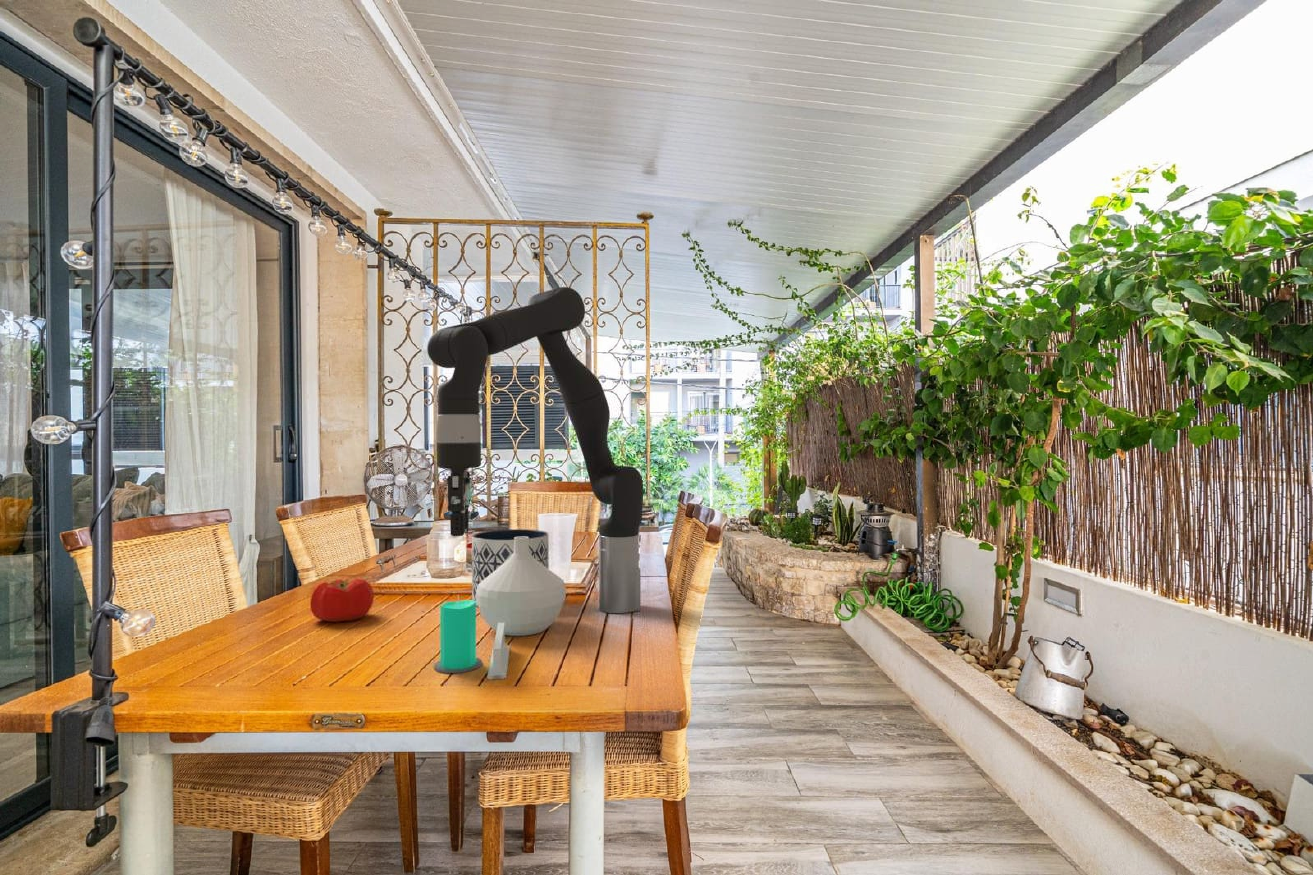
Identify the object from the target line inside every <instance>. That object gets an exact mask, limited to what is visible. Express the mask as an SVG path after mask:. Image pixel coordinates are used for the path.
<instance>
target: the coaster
mask: <svg viewBox="0 0 1313 875" xmlns="http://www.w3.org/2000/svg"><path fill="white" fill-rule="evenodd" d="M482 663H483V660H482V659H481V658H480V657H477V656H476V663H475V665H473V666H471V667H468V668H464V669H453V670H451V669H444V668H442V667H441V659H440V660H438V661H436V662H435V663H434V664H433V670H434V671H435V670H436V671H435V672H437V671H438V673H440V672H442V673H441V674H447V673H453V674H464V673H468V672H471V671H475V670H477V669H479V668H480V667H481V666H483V664H482ZM453 674H452V675H453Z"/></svg>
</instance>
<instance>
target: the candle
mask: <svg viewBox="0 0 1313 875" xmlns="http://www.w3.org/2000/svg"><path fill="white" fill-rule="evenodd" d="M459 597H460V596H459V594H457V601H446V602H444V603H442V604H441V605H440V616H439V617H440V618H439V619H440V623H439V624H440V626H439V627H440V637H439V638H440V644H439V645H440V650H439V651H440V660H441V667H442V668H444V669H451V670H453V669H464V668H468V667H471V666H473V665H475V663H476V657H477V606H476V602H475V601H473V600H472V599H463V600H460V598H459Z"/></svg>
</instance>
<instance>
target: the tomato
mask: <svg viewBox="0 0 1313 875" xmlns="http://www.w3.org/2000/svg"><path fill="white" fill-rule="evenodd" d="M329 582H330V583H329ZM329 582H328V581H327V582H326V581H323V582H320V583H318V585H317V586H316V587H315V588H314V589H313V591H312V593H311V596H310V597H311V598H310V603H309V604H310V605H309V606H310V610H311V612H312V615H313V616H314V618H316V619H318V620H321V621H325V622H330V623H338V622H339V623H340V622H345V621H346V622H347V621H348V622H349V621H355V620H358V619H361V618H362V617H365V616H366V615H367V614H368V613H369V612H370V610H371V608H372V605H373V604H374V598H375V595H374V590H373V588H372V585H371V584H370V583H369V582H367V581H366V580H364V579H363V578H354V579H352V580H347V581H346V582H345V581H344V580H342V579H336V580H335V579H334V580H333V581H332V580H331V581H329Z"/></svg>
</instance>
